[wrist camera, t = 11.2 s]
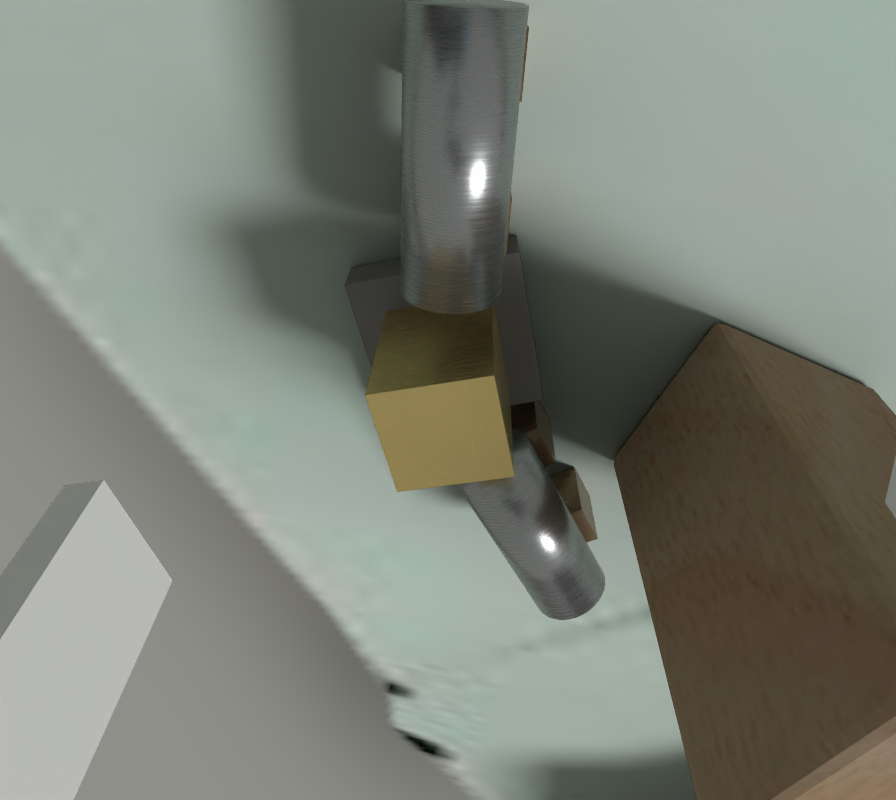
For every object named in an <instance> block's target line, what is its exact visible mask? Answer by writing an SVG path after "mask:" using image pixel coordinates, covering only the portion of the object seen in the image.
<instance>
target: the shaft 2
mask: <svg viewBox="0 0 896 800" xmlns="http://www.w3.org/2000/svg"><path fill="white" fill-rule="evenodd" d="M510 406H511V423H512V440H513V457H514V474H515V477H508V478H500V479H493V480H485V481H477V482H470V483H462V484H457V486H458V488H459V489H460V491H461V492H462V494H463V495H464V497H465V498H466V500H467V501H468V503H469V504H470V506H471V507H472V509H473V510H474V512H475V513H476V515H477V516H478V518H479V519H480V521H481V522H482V524H483V525H484V527H485V528H486V530H487V531H488V533H489V534H490V536H491V537H492V539H493V540H494V542H495V543H496V545H497V546H498V548H499V549H500V551H501V552H502V554H503V555H504V557H505V558H506V560H507V561H508V563H509V564H510V566H511V567H512V569H513V570H514V572H515V573H516V575H517V576H518V578H519V579H520V581H521V582H522V584H523V585H524V587H525V588H526V590H527V591H528V593H529V594H530V596H531V597H532V599H533V600H534V602H535V603H536V605H537V607H538V608H539V609H540V611H541V612H542V613H543V614H545V615H546V616H548V617H550V618H553V619H558V620H566V619H572V618H575V617H578V616H580V615H583V614H584V613H586V612H587V611H589V610H590V609H591V608H592V607H593V606H595V604H596V603H597V602H598V601H599V599H600V598H601V596H602V594H603V591H604V587H605V577H604V573H603V571H602V569H601V567H600V566H599V564H598V562H597V560H596V558H595V557H594V555H593V553H592V551H591V550H590V548H589V546H588V544H587V542H589V541H592V540H595V539H598V538H597V533H596V527H595V522H594V517H593V512H592V506H591V501H590V496H589V494H588V492H587V490H586V488H585V486H584V484H583V482H582V481H581V479H580V477H579V475H578V473H577V471H576V469H575V467H574V468H571V469H568V470H565V471H563V472H560V473H557V474H554V475H551V476H549V475H548V473H547V471H546V469H545V468H544V467H545V466H548V465H551V464H554V463H556V459H555V452H554V445H553V438H552V430H551V423H550V420H549V418H548V417H547V415H546V413H545V411H544V409H543V407H542V405H541V403H540V401H535V402H528V403H522V404H515V405H510Z"/></svg>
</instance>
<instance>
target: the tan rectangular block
mask: <svg viewBox="0 0 896 800" xmlns="http://www.w3.org/2000/svg"><path fill="white" fill-rule="evenodd" d="M365 397H366V400H367V403H368V406H369V409H370V412H371V415H372V418H373V421H374V424H375V427H376V430H377V433H378V436H379V439H380V442H381V445H382V448H383V451H384V454H385V457H386V460H387V463H388V466H389V469H390V472H391V475H392V478H393V481H394V484H395V487H396V490H397V492H401V491H409V490H416V489H424V488H431V487H439V486H447V485H454V484H462V483H470V482H477V481H485V480H493V479H500V478H508V477H515V474H514V457H513V440H512V423H511V406H510V389H509V380H508V375H507V370H506V364H505V359H504V354H503V349H502V343H501V338H500V333H499V328H498V322H497V317H496V312H495V306H494V305H493V306H491V307H490V308H487V309H485V310H482V311H478V312H474V313H467V314H444V313H437V312H432V311H427V310H424V309H421V308H418V307H416V306H415V307H409V308H403V309H397V310H392V311H386V314H385V318H384V322H383V326H382V330H381V334H380V338H379V342H378V346H377V350H376V354H375V357H374V361H373V365H372V369H371V373H370V377H369V381H368V385H367V389H366V393H365Z"/></svg>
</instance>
